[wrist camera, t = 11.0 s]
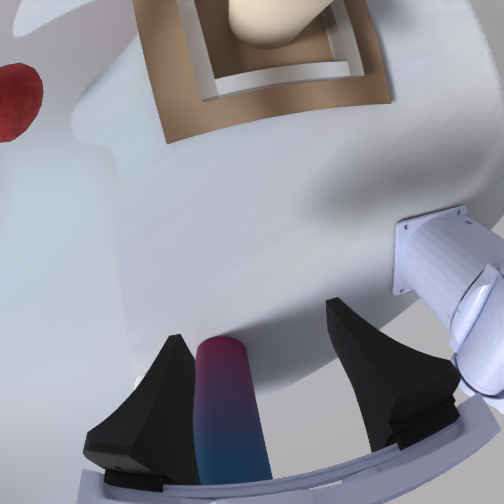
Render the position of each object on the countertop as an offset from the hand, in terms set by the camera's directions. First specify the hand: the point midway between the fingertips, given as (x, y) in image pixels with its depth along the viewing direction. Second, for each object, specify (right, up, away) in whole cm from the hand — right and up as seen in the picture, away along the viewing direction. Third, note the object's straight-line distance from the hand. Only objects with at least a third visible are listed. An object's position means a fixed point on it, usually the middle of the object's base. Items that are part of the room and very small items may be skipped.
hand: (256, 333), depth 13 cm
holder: (0, +19, +1) cm, 19 cm away
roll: (+1, +19, 0) cm, 19 cm away
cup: (-3, -6, +14) cm, 15 cm away
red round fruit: (-17, +16, +1) cm, 23 cm away
